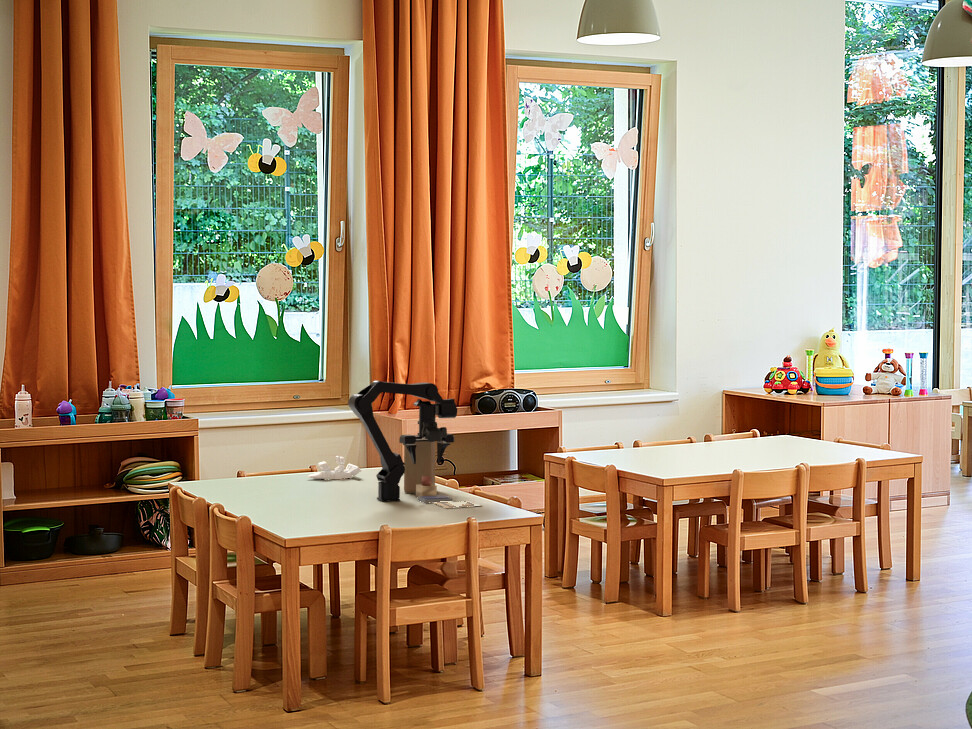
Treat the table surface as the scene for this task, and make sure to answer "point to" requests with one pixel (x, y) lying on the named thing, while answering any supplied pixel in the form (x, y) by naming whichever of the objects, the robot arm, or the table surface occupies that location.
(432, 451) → the wooden block
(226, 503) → the table surface
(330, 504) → the table surface
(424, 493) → the stamp
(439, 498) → the ink pad
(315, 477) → the white coral
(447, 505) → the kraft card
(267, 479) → the table surface
